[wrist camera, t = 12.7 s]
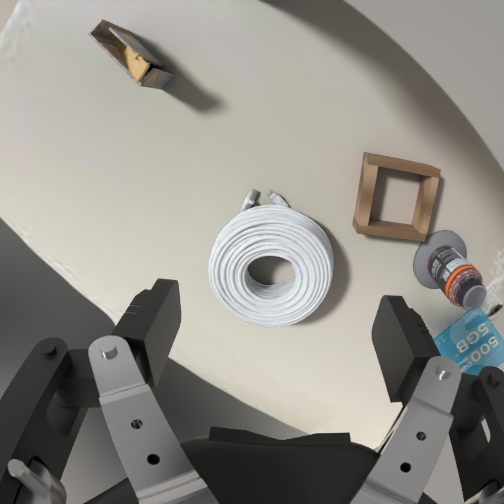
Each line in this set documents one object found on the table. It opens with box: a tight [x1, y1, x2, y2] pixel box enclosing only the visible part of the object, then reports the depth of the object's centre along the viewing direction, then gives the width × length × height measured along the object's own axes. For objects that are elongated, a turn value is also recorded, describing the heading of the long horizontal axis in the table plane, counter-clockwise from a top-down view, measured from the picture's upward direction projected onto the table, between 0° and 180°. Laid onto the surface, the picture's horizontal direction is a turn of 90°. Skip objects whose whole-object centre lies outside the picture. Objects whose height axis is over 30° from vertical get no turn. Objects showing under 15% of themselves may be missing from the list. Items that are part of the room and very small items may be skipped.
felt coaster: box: [413, 230, 466, 289], centre depth 43 cm, size 10×10×1 cm
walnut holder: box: [353, 152, 441, 242], centre depth 39 cm, size 10×10×3 cm
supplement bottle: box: [427, 245, 486, 311], centre depth 38 cm, size 6×6×11 cm
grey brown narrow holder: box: [88, 19, 175, 89], centre depth 31 cm, size 11×3×10 cm, turn 41°
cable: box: [209, 190, 334, 327], centre depth 43 cm, size 18×18×6 cm
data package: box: [434, 308, 504, 376], centre depth 44 cm, size 12×4×12 cm, turn 136°
